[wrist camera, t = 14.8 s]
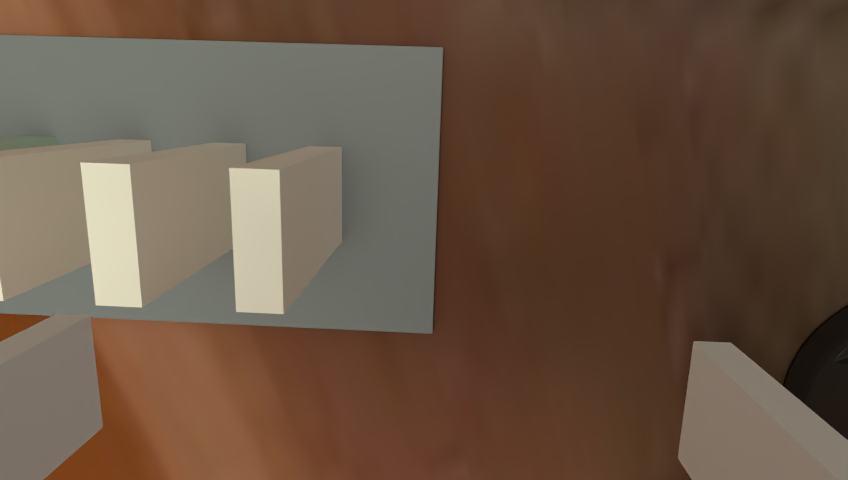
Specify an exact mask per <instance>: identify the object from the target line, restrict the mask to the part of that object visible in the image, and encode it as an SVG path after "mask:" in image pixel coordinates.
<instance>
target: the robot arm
mask: <svg viewBox="0 0 848 480" xmlns="http://www.w3.org/2000/svg"><path fill="white" fill-rule="evenodd" d="M102 427H103V424H102V415H101V406H100V397H99V389H98V380H97V371H96V362H95V353H94V344H93V336H92V327H91V318H90V315H73V314H56V315H54V316H52V317H50V318H48V319H46V320H44V321H42V322H40V323H38V324H36V325H34V326H32V327H30V328H27V329H25V330H23V331H21V332H19V333H17V334H15V335H13V336H11V337H9V338H7V339H5V340H3V341H1V342H0V480H43V479H45V478H46V477H47V476H48V475H49V474H50V473H51V472H53V471H54V470H55V469H56V468H57V467H58V466H59V465H60V464H62V463H63V462H64V461H65V460H66V459H67V458H68V457H70V456H71V455H72V454H73V453H74V452H75V451H76V450H77V449H79V448H80V447H81V446H82V445H83V444H84V443H85V442H87V441H88V440H89V439H90V438H91V437H92V436H93V435H94V434H96V433H97V432H98V431H99V430H100V429H101V428H102ZM678 459H679V461H680V462H681V464H682V465H683V467H684V468H685V470H686V471H687V473H688V475H689V476H690V478H691V479H692V480H848V307H847V308H845V309H844V310H842V311H841V312H839V313H838V314H836V315H835V316H833V317H832V318H831V319H829V320H828V321H827V322H826V323H825V324H823V325H822V326H821V327H820V328H819V329H818V330H817V331H816V332H815V333H814V334H813V335H812V336H811V337H810V339H809V340H808V341H807V342H806V344H805V345H804V346H803V348H802V349H801V351H800V352H799V354H798V355H797V357H796V359H795V360H794V362H793V364H792V366H791V369H790V371H789V373H788V376H787V379H786V382H785V386H784V387H783V386H782V385H781V384H780V383H779V382H777V381H776V380H775V379H774V378H773V377H771V376H770V375H769V374H768V373H767V372H765V371H764V370H763V369H762V368H761V367H759V366H758V365H757V364H756V363H755V362H753V361H752V360H751V359H750V358H749V357H747V356H746V355H745V354H744V353H743V352H741V351H740V350H739V349H738V348H737V347H735V346H734V345H733V344H732V343H726V342H703V341H694V342H693V349H692V356H691V364H690V371H689V378H688V386H687V393H686V401H685V408H684V415H683V423H682V430H681V437H680V445H679V452H678Z"/></svg>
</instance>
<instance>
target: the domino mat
mask: <svg viewBox="0 0 848 480" xmlns="http://www.w3.org/2000/svg"><path fill="white" fill-rule="evenodd" d="M442 67H443V47H412V46H377V45H342V44H307V43H272V42H237V41H201V40H166V39H131V38H96V37H61V36H26V35H0V138H3V137H18V136H41V137H57V145H64V144H75V143H85V142H95V141H106V140H116V139H128V140H151V150H152V152H154V151H160V150H167V149H174V148H181V147H187V146H194V145H201V144H207V143H242V144H246V163H249V162H253V161H256V160H260V159H264V158H267V157H271V156H275V155H278V154H282V153H286V152H289V151H293V150H297V149H300V148H304V147H307V146H326V147H342V242H341V244H340V245H339V246H338V247H337V249H336V250H335V251H334V252H333V253H332V255H331V256H330V257H329V258H328V260H327V261H326V262H325V263H324V265H323V266H322V267H321V268H320V270H319V271H318V272H317V273H316V275H315V276H314V277H313V278H312V279H311V281H310V282H309V283H308V284H307V286H306V287H305V288H304V289H303V291H302V292H301V293H300V294H299V296H298V297H297V298H296V299H295V301H294V302H293V303H292V304H291V305H290V307H289V308H288V309H287V310H286V312H285V313H284V314H269V313H247V312H236V300H235V279H234V258H233V249H232V250H230V251H229V252H227V253H225V254H224V255H222V256H221V257H219V258H218V259H216V260H215V261H213V262H212V263H210V264H209V265H207V266H205V267H204V268H202V269H201V270H199V271H198V272H196V273H195V274H193V275H192V276H190V277H189V278H187V279H185V280H184V281H182V282H181V283H179V284H178V285H176V286H175V287H173V288H172V289H170V290H169V291H167V292H165V293H164V294H162V295H161V296H159V297H158V298H156V299H155V300H153V301H152V302H150V303H148V304H147V305H145V306H144V307H142V308H140V307H119V306H98V305H96V303H95V294H94V285H93V276H92V267H91V263H90V264H88V265H86V266H83V267H81V268H79V269H77V270H74V271H72V272H70V273H67V274H65V275H63V276H60V277H58V278H56V279H53V280H51V281H49V282H47V283H44V284H42V285H40V286H37V287H35V288H33V289H30V290H28V291H26V292H23V293H21V294H19V295H17V296H14V297H12V298H10V299H7V300H5V301H0V313H7V314H28V315H49V316H54V315H56V314H73V315H90V317H91V318H112V319H133V320H154V321H175V322H196V323H217V324H238V325H259V326H280V327H301V328H322V329H343V330H364V331H385V332H406V333H427V334H432V332H433V307H434V280H435V253H436V227H437V200H438V173H439V147H440V120H441V93H442Z"/></svg>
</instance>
